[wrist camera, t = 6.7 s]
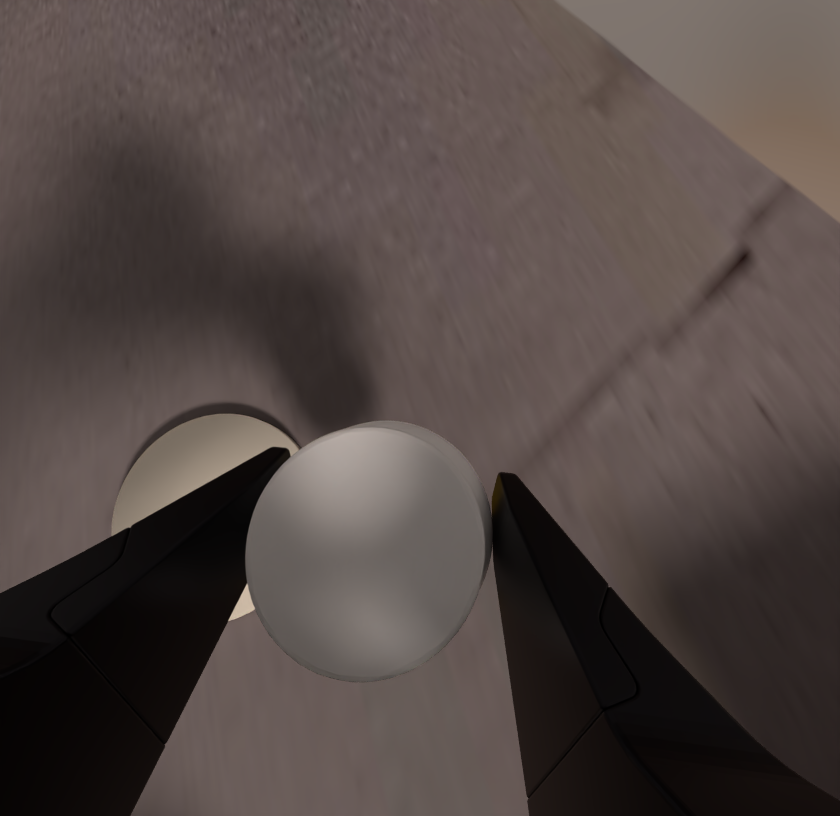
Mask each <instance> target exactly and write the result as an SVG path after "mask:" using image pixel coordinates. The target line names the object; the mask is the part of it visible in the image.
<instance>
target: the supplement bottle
mask: <svg viewBox="0 0 840 816" xmlns="http://www.w3.org/2000/svg"><path fill="white" fill-rule="evenodd" d="M492 542H493V526H492V516H491V511H490V506H489V502H488V498H487V495H486V492H485V490H484V487H483V485H482V483H481V481H480V478H479V476H478V475H477V473H476V472H475V470H474V468H473V467H472V465H471V464H470V462H469V461H468V460H467V459H466V458H465V456H464V455H463V454H462V453H461V452H460V451H459V450H458V449H457V448H456V447H455V446H453V445H452V444H451V443H450V442H448V441H447V440H446V439H444V438H443V437H441V436H440V435H438V434H436V433H434V432H432V431H430V430H428V429H426V428H424V427H421V426H418V425H415V424H411V423H406V422H401V421H388V420H381V421H371V422H366V423H361V424H358V425H354V426H351V427H348V428H345V429H341V430H338V431H335V432H332V433H329V434H327V435H324V436H322V437H320V438H318V439H316V440H314V441H312V442H311V443H309V444H307V445H306V446H304V447H303V448H301V449H300V450H299V451H297V452H296V453H295V454H293V455H292V456H291V457H290V458H289V459H288V460H287V461H286V462H284V464H283V465H282V466H281V467H280V468H279V469H278V470H277V472H276V473H275V474H274V475H273V477H272V478H271V480H270V481H269V482H268V484H267V485H266V487H265V488H264V490H263V492H262V494H261V496H260V497H259V499H258V502H257V504H256V507H255V509H254V512H253V515H252V518H251V522H250V525H249V529H248V535H247V541H246V553H245V567H246V578H247V583H248V589H249V592H250V596H251V600H252V602H253V605H254V607H255V610H256V612H257V615H258V617H259V618H260V620H261V622H262V624H263V625H264V627H265V629H266V630H267V632H268V634H269V635H270V636H271V638H272V639H273V640H274V641H275V642H276V644H277V645H278V646H279V647H280V648H281V649H282V650H283V651H284V652H285V653H286V654H287V655H289V656H290V657H291V658H292V659H293V660H295V661H296V662H297V663H298V664H300V665H302V666H304V667H305V668H307V669H309V670H311V671H313V672H315V673H317V674H320V675H323V676H326V677H329V678H333V679H337V680H342V681H349V682H373V681H379V680H384V679H388V678H393V677H396V676H399V675H402V674H404V673H407V672H409V671H411V670H413V669H415V668H416V667H418V666H420V665H422V664H423V663H425V662H427V661H428V660H429V659H431V658H432V657H433V656H434V655H436V654H437V653H438V652H439V651H441V650H442V649H443V648H444V647H445V646H446V645H447V644H448V643H449V642H450V640H451V639H452V638H453V637H454V636H455V635H456V633H457V632H458V631H459V629H460V628H461V626H462V625H463V623H464V622H465V620H466V619H467V617H468V615H469V613H470V611H471V609H472V607H473V605H474V602H475V600H476V598H477V595H478V592H479V590H480V588H481V585H482V583H483V581H484V579H485V576H486V573H487V570H488V567H489V562H490V557H491V551H492Z"/></svg>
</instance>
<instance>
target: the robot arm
mask: <svg viewBox="0 0 840 816" xmlns="http://www.w3.org/2000/svg"><path fill="white" fill-rule="evenodd" d="M290 457H291V456H290V451H289V449H287V448H283V447H270V448H268V449H267V450H265V451H263V452H261V453H260V454H258V455H256V456H254V457H252V458H251V459H249V460H247V461H245V462H243V463H242V464H240V465H238V466H236V467H235V468H233V469H231V470H229V471H227V472H226V473H224V474H222V475H220V476H219V477H217V478H215V479H213V480H211V481H210V482H208V483H206V484H204V485H202V486H201V487H199V488H197V489H195V490H194V491H192V492H190V493H188V494H186V495H185V496H183V497H181V498H179V499H178V500H176V501H174V502H172V503H170V504H169V505H167V506H165V507H163V508H161V509H160V510H158V511H156V512H154V513H153V514H151V515H149V516H147V517H145V518H144V519H142V520H140V521H138V522H136V523H135V524H133V525H132V526H131V528H129V527H128V528H126V529H124V530H122V531H120V532H118V533H117V534H115V535H113V536H111V537H110V538H108V539H106V540H104V541H102V542H100V543H98V544H97V545H95V546H93V547H91V548H89V549H87V550H86V551H84V552H82V553H80V554H78V555H76V556H74V557H72V558H70V559H68V560H66V561H64V562H62V563H60V564H58V565H56V566H55V567H53V568H51V569H49V570H47V571H45V572H43V573H41V574H39V575H37V576H35V577H33V578H31V579H28V580H26V581H24V582H22V583H20V584H18V585H16V586H14V587H12V588H10V589H8V590H6V591H4V592H2V593H0V816H130V815H131V813H132V811H133V809H134V807H135V805H136V803H137V801H138V799H139V797H140V795H141V793H142V791H143V789H144V787H145V785H146V783H147V781H148V779H149V778H150V776H151V774H152V772H153V770H154V768H155V766H156V764H157V762H158V760H159V758H160V756H161V754H162V752H163V750H164V748H165V745H164V744H166V743H167V741H168V739H169V737H170V735H171V733H172V731H173V729H174V727H175V725H176V723H177V721H178V719H179V717H180V715H181V714H182V712H183V710H184V708H185V706H186V704H187V702H188V700H189V698H190V696H191V694H192V692H193V690H194V688H195V686H196V684H197V682H198V680H199V678H200V676H201V674H202V672H203V670H204V668H205V666H206V664H207V662H208V660H209V658H210V656H211V654H212V652H213V650H214V648H215V646H216V644H217V642H218V640H219V638H220V636H221V634H222V632H223V630H224V628H225V626H226V624H227V622H228V620H229V618H230V616H231V614H232V612H233V610H234V608H235V606H236V605H237V603H238V601H239V599H240V597H241V595H242V593H243V591H244V589H245V587H246V585H247V578H246V567H245V553H246V541H247V535H248V529H249V525H250V522H251V518H252V515H253V512H254V509H255V507H256V504H257V502H258V499H259V497H260V496H261V494H262V492H263V490H264V488H265V487H266V485H267V484H268V482H269V481H270V480H271V478H272V477H273V475H274V474H275V473H276V472H277V470H278V469H279V468H280V467H281V466H282V465H283V464H284V462H286V461H287V460H288V459H289V458H290ZM492 526H493V562H494V570H495V577H496V584H497V591H498V598H499V605H500V612H501V619H502V626H503V633H504V640H505V647H506V654H507V661H508V668H509V675H510V682H511V689H512V696H513V703H514V710H515V717H516V724H517V731H518V738H519V745H520V752H521V759H522V766H523V773H524V780H525V787H526V794H527V797H528V798H529V799H528V801H527V802H528V809H529V816H840V801H839V800H838V799H836V798H834V797H833V796H831V795H829V794H828V793H826V792H824V791H823V790H821V789H819V788H818V787H816V786H815V785H813V784H811V783H810V782H808V781H807V780H805V779H804V778H802V777H801V776H799V775H798V774H797V773H795V772H794V771H792V770H791V769H790V768H788V767H787V766H786V765H785V764H783V763H782V762H781V761H779V760H778V759H777V758H776V757H774V756H773V755H772V754H771V753H770V752H769V751H767V750H766V749H765V748H764V747H763V746H762V745H761V744H760V743H758V742H757V741H756V740H755V739H754V738H753V737H752V736H751V735H750V734H749V733H748V732H747V731H746V730H745V729H744V728H743V727H742V726H741V725H740V724H739V723H738V722H737V721H736V720H735V719H734V718H733V717H732V716H731V715H730V714H729V713H728V712H727V711H726V710H725V709H724V708H723V707H722V706H721V705H720V704H719V703H718V702H717V701H716V700H715V699H714V697H713V696H712V695H711V694H710V693H709V692H708V691H707V690H706V689H705V688H704V687H703V686H702V685H701V684H700V683H699V682H698V681H697V680H696V679H695V678H694V677H693V676H692V675H691V674H690V673H689V672H688V671H687V670H686V669H685V668H684V667H683V666H682V665H681V664H680V663H679V662H678V661H677V660H676V659H675V658H674V657H673V656H672V654H671V653H670V652H669V651H668V650H667V649H666V648H665V647H664V646H663V645H662V644H661V643H660V642H659V641H658V640H657V639H656V638H655V636H654V635H653V634H652V633H651V632H650V631H649V630H648V629H647V628H646V627H645V626H644V625H643V624H642V622H641V621H640V620H639V619H638V618H637V617H636V616H635V614H634V613H633V612H632V611H631V610H630V609H629V608H628V606H627V605H626V604H625V603H624V602H623V601H622V599H621V598H620V597H619V596H618V595H617V594H616V592H615V591H614V590H613V589H612V588H611V587H608V583H607V582H606V581H605V580H604V578H603V577H602V576H601V575H600V574H599V572H598V571H597V570H596V569H595V568H594V566H593V565H592V564H591V563H590V562H589V561H588V559H587V558H586V557H585V556H584V555H583V553H582V552H581V551H580V550H579V549H578V547H577V546H576V545H575V544H574V543H573V542H572V540H571V539H570V538H569V537H568V536H567V534H566V533H565V532H564V531H563V530H562V528H561V527H560V526H559V525H558V524H557V523H556V521H555V520H554V519H553V518H552V517H551V515H550V514H549V513H548V512H547V511H546V510H545V508H544V507H543V506H542V505H541V504H540V502H539V501H538V500H537V499H536V498H535V496H534V495H533V494H532V493H531V492H530V491H529V489H528V488H527V487H526V486H525V485H524V483H523V482H522V481H521V480H520V479H519V477H518V476H517V475H516V474H513V473H505V472H500V473H499V474H498V476H497V479H496V484H495V488H494V492H493V496H492Z"/></svg>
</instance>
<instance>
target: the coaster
mask: <svg viewBox="0 0 840 816" xmlns="http://www.w3.org/2000/svg"><path fill="white" fill-rule="evenodd" d="M270 447H283V448H287V449H289V451H290V456H292V455H293V454H295V453H296V452H297V451H299V450H300V449H301V448H300V447H299V446H298V444H297V443H296V442H295V441H294V440H293V439H292V438H291V437H289V436H288V435H287V434H286V433H284V432H283V431H282V430H280V429H278V428H276V427H275V426H273V425H271V424H268V423H266V422H263V421H261V420H258V419H256V418H253V417H249V416H245V415H239V414H214V415H207V416H203V417H199V418H196V419H193V420H190V421H188V422H185V423H183V424H181V425H179V426H177V427H175V428H173V429H172V430H170V431H168V432H167V433H165V434H164V435H163V436H161V437H160V438H158V439H157V440H156V441H155V442H154V443H153V444H152V445H151V446H149V447H148V448H147V449H146V451H145V452H144V453H143V454H142V455H141V456H140V457H139V458H138V460H137V461H136V463H135V464H134V465H133V467H132V468H131V470H130V471H129V473H128V475H127V477H126V479H125V480H124V482H123V485H122V487H121V489H120V492H119V494H118V497H117V501H116V504H115V508H114V513H113V519H112V536H113V535H115V534H117V533H118V532H120V531H122V530H124V529H126V528H128V527H129V528H131V526H132V525H133V524H135V523H136V522H138V521H140V520H142V519H144V518H145V517H147V516H149V515H151V514H153V513H154V512H156V511H158V510H160V509H161V508H163V507H165V506H167V505H169V504H170V503H172V502H174V501H176V500H178V499H179V498H181V497H183V496H185V495H186V494H188V493H190V492H192V491H194V490H195V489H197V488H199V487H201V486H202V485H204V484H206V483H208V482H210V481H211V480H213V479H215V478H217V477H219V476H220V475H222V474H224V473H226V472H227V471H229V470H231V469H233V468H235V467H236V466H238V465H240V464H242V463H243V462H245V461H247V460H249V459H251V458H252V457H254V456H256V455H258V454H260V453H261V452H263V451H265V450H267V449H268V448H270ZM254 609H255V607H254V605H253V602H252V600H251V596H250V592H249V589H248V583H247V585H246V587H245V589H244V591H243V593H242V595H241V597H240V599H239V601H238V603H237V605H236V606H235V608H234V610H233V612H232V614H231V616H230V618H229V620H228V621H230V620H233V619H236V618H238V617H241V616H243V615H245V614H247V613H249V612H251V611H253V610H254Z"/></svg>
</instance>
